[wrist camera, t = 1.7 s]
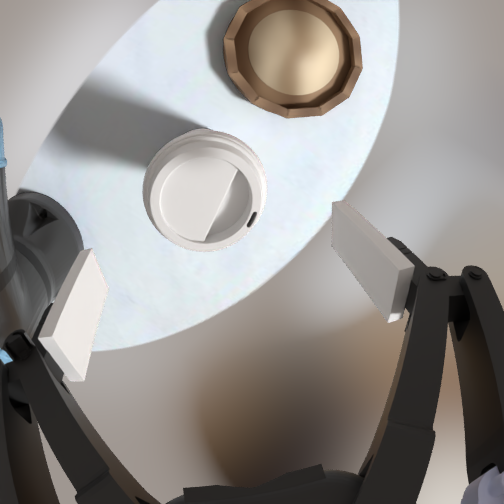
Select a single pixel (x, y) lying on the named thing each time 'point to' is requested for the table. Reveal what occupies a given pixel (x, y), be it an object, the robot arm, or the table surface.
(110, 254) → the table surface
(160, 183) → the coffee cup
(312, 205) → the table surface
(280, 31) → the polygonal wooden dish
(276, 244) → the table surface
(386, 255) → the robot arm
